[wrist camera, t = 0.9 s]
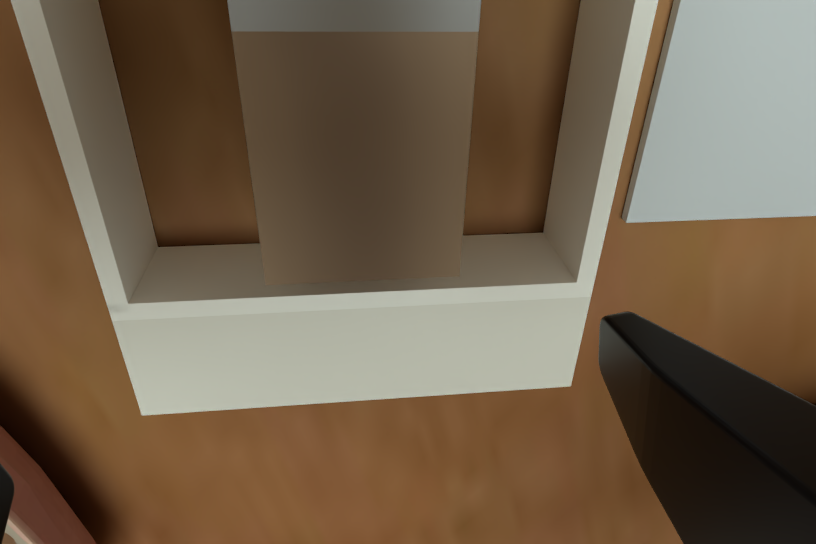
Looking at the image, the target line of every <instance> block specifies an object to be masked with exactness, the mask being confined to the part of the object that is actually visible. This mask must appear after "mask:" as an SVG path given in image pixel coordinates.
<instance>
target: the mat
mask: <svg viewBox="0 0 816 544" xmlns="http://www.w3.org/2000/svg"><path fill="white" fill-rule="evenodd" d="M797 216H816V0H674V1H673V6H672V10H671V14H670V18H669V22H668V26H667V31H666V35H665V39H664V43H663V47H662V51H661V56H660V60H659V64H658V68H657V72H656V76H655V81H654V85H653V89H652V93H651V97H650V101H649V106H648V110H647V114H646V118H645V122H644V126H643V131H642V135H641V139H640V143H639V147H638V152H637V156H636V160H635V164H634V168H633V172H632V177H631V181H630V185H629V189H628V193H627V197H626V202H625V206H624V210H623V214H622V219H623V220H624V221H625V222H626V223H633V222H660V221H688V220H715V219H743V218H770V217H797Z"/></svg>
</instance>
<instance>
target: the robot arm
mask: <svg viewBox="0 0 816 544" xmlns="http://www.w3.org/2000/svg"><path fill="white" fill-rule="evenodd" d="M599 366H600V370H601V374H602V376H603V379H604V381H605V383H606V386H607V388H608V391H609V393H610V395H611V398H612V400H613V402H614V405H615V407H616V410H617V412H618V414H619V417H620V419H621V421H622V424H623V426H624V429H625V431H626V433H627V436H628V438H629V440H630V443H631V445H632V448H633V450H634V452H635V454H636V457H637V459H638V461H639V463H640V466H641V468H642V470H643V471H644V473H645V475H646V477H647V479H648V481H649V483H650V485H651V486H652V488H653V490H654V492H655V493H656V495H657V497H658V499H659V501H660V502H661V504H662V506H663V508H664V509H665V511H666V513H667V515H668V517H669V518H670V520H671V522H672V524H673V526H674V527H675V529H676V531H677V533H678V534H679V536H680V538H681V540H682V542H683V543H684V544H816V405H814V404H812V403H810V402H808V401H806V400H804V399H802V398H800V397H798V396H796V395H794V394H792V393H790V392H788V391H786V390H784V389H782V388H780V387H778V386H776V385H774V384H772V383H770V382H769V381H767V380H765V379H763V378H761V377H759V376H757V375H755V374H753V373H751V372H749V371H747V370H745V369H743V368H741V367H739V366H737V365H735V364H733V363H731V362H729V361H727V360H725V359H723V358H721V357H719V356H717V355H715V354H713V353H712V352H710V351H708V350H706V349H704V348H702V347H700V346H698V345H696V344H694V343H692V342H690V341H688V340H686V339H684V338H682V337H680V336H678V335H676V334H674V333H672V332H670V331H668V330H666V329H664V328H662V327H660V326H658V325H657V324H655V323H653V322H651V321H649V320H647V319H645V318H643V317H641V316H639V315H637V314H635V313H632V312H622V313H617V314H612V315H607V316H605V317H603V318H602V319H601V322H600V333H599ZM14 491H15V487H14V481H13V479H12V477H11V475H10V474H9V473H8V472H7V470H6V469H5V468H4V467H3V466H2V464H1V463H0V544H2V541H3V537H4V533H5V529H6V525H7V521H8V517H9V513H10V509H11V505H12V501H13V497H14Z"/></svg>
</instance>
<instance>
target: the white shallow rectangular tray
mask: <svg viewBox="0 0 816 544" xmlns="http://www.w3.org/2000/svg"><path fill="white" fill-rule="evenodd" d="M11 3H12V6H13V9H14V12H15V15H16V19H17V22H18V25H19V28H20V31H21V34H22V38H23V41H24V44H25V47H26V50H27V53H28V57H29V60H30V63H31V66H32V69H33V72H34V76H35V79H36V82H37V85H38V88H39V91H40V95H41V98H42V101H43V104H44V107H45V110H46V113H47V117H48V120H49V123H50V126H51V129H52V132H53V136H54V139H55V142H56V145H57V148H58V151H59V155H60V158H61V161H62V164H63V167H64V170H65V174H66V177H67V180H68V183H69V186H70V189H71V193H72V196H73V199H74V202H75V205H76V208H77V212H78V215H79V218H80V221H81V224H82V227H83V231H84V234H85V237H86V240H87V243H88V246H89V250H90V253H91V256H92V259H93V262H94V265H95V269H96V272H97V275H98V278H99V281H100V284H101V287H102V291H103V294H104V297H105V300H106V303H107V306H108V310H109V313H110V316H111V319H112V322H113V325H114V329H115V332H116V335H117V338H118V341H119V344H120V348H121V351H122V354H123V357H124V360H125V363H126V367H127V370H128V373H129V376H130V379H131V382H132V386H133V389H134V392H135V395H136V398H137V401H138V405H139V408H140V411H141V414H142V415H156V414H171V413H186V412H201V411H215V410H230V409H245V408H259V407H274V406H289V405H304V404H318V403H333V402H348V401H362V400H377V399H392V398H407V397H421V396H436V395H451V394H465V393H480V392H495V391H510V390H524V389H539V388H554V387H569V386H571V383H572V379H573V374H574V370H575V365H576V361H577V357H578V352H579V348H580V343H581V339H582V334H583V330H584V326H585V321H586V317H587V312H588V308H589V304H590V299H591V295H592V290H593V286H594V282H595V277H596V273H597V268H598V264H599V259H600V255H601V251H602V246H603V242H604V237H605V233H606V229H607V224H608V220H609V215H610V211H611V207H612V202H613V198H614V193H615V189H616V185H617V180H618V176H619V171H620V167H621V162H622V158H623V154H624V149H625V145H626V140H627V136H628V132H629V127H630V123H631V118H632V114H633V110H634V105H635V101H636V96H637V92H638V88H639V83H640V79H641V74H642V70H643V65H644V61H645V57H646V52H647V48H648V43H649V39H650V35H651V30H652V26H653V21H654V17H655V13H656V8H657V4H658V0H581V1H580V7H579V14H578V20H577V26H576V32H575V38H574V45H573V51H572V57H571V63H570V69H569V76H568V82H567V88H566V94H565V100H564V106H563V113H562V119H561V125H560V131H559V137H558V144H557V150H556V156H555V162H554V168H553V174H552V181H551V187H550V193H549V199H548V205H547V212H546V218H545V224H544V230H543V233H519V234H492V235H466V236H463V239H462V252H461V264H460V276H459V277H437V278H416V279H394V280H372V281H350V282H328V283H306V284H284V285H266V284H265V277H264V270H263V262H262V255H261V247H260V243H254V244H228V245H201V246H175V247H158V245H157V241H156V237H155V232H154V228H153V224H152V220H151V216H150V212H149V208H148V204H147V199H146V195H145V191H144V187H143V183H142V179H141V175H140V171H139V167H138V162H137V158H136V154H135V150H134V146H133V142H132V138H131V134H130V129H129V125H128V121H127V117H126V113H125V109H124V105H123V101H122V97H121V92H120V88H119V84H118V80H117V76H116V72H115V68H114V64H113V59H112V55H111V51H110V47H109V43H108V39H107V35H106V31H105V26H104V22H103V18H102V14H101V10H100V6H99V2H98V0H11Z"/></svg>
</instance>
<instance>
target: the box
mask: <svg viewBox="0 0 816 544" xmlns="http://www.w3.org/2000/svg"><path fill="white" fill-rule="evenodd" d="M227 2H228V10H229V17H230V25H231V32H232V39H233V47H234V54H235V62H236V69H237V77H238V84H239V91H240V99H241V106H242V114H243V121H244V129H245V136H246V143H247V151H248V158H249V166H250V173H251V181H252V188H253V195H254V203H255V210H256V218H257V225H258V232H259V240H260V247H261V255H262V262H263V270H264V277H265V284H266V285H284V284H306V283H328V282H350V281H372V280H394V279H416V278H437V277H459V276H460V264H461V252H462V239H463V226H464V213H465V201H466V188H467V175H468V162H469V150H470V137H471V124H472V111H473V99H474V86H475V73H476V60H477V48H478V35H479V22H480V9H481V0H227Z"/></svg>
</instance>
